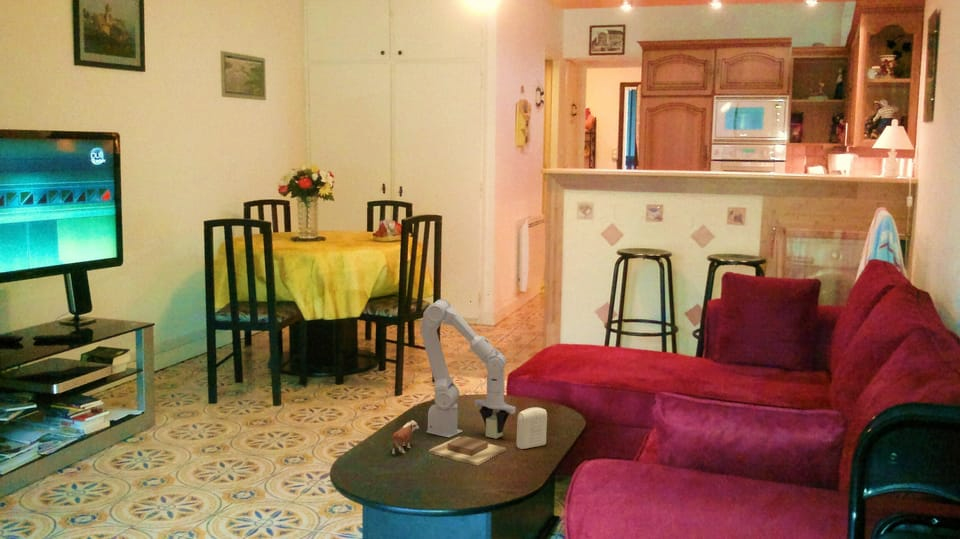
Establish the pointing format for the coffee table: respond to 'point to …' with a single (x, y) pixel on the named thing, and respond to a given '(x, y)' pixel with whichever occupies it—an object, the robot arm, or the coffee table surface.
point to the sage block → (492, 427)
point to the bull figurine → (404, 436)
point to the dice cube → (496, 410)
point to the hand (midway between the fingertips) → (494, 430)
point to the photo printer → (531, 428)
